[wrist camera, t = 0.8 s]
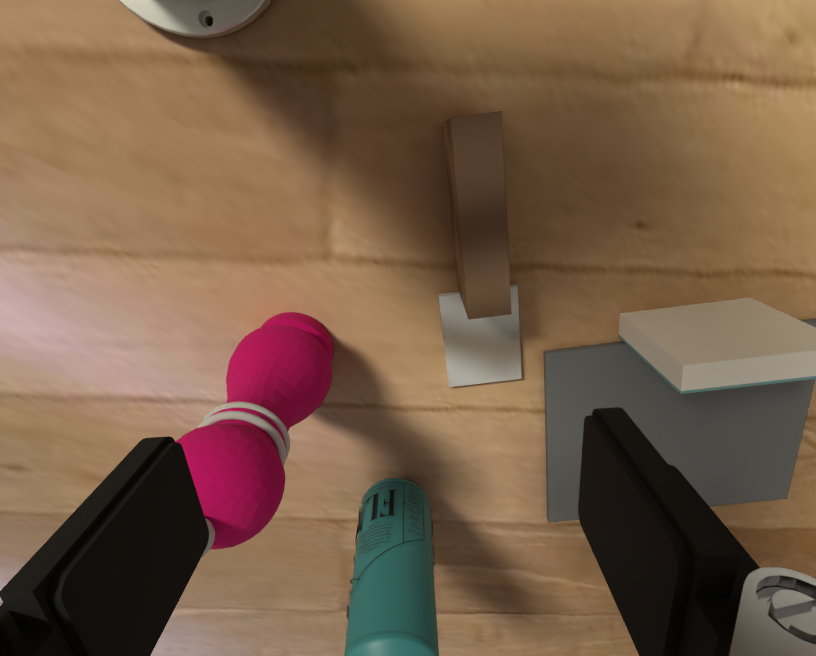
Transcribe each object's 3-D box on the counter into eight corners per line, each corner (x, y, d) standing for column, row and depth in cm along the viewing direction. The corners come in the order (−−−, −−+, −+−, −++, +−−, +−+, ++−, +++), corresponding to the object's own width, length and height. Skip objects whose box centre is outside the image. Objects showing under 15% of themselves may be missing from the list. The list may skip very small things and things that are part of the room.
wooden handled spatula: (419, 126, 31) (421, 122, 25) (508, 113, 30) (530, 106, 25) (448, 383, 38) (455, 424, 33) (520, 375, 38) (539, 415, 32)
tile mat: (543, 351, 37) (545, 353, 37) (823, 317, 36) (829, 320, 35) (547, 518, 44) (548, 522, 43) (782, 494, 43) (786, 498, 42)
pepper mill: (357, 343, 37) (307, 549, 18) (305, 401, 39) (211, 639, 20) (284, 287, 35) (146, 452, 16) (233, 351, 37) (59, 561, 19)
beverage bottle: (398, 452, 41) (391, 710, 22) (445, 495, 43) (474, 766, 24) (346, 490, 43) (300, 759, 24) (394, 530, 44) (384, 808, 26)
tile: (619, 313, 36) (683, 365, 28) (749, 297, 35) (855, 345, 27) (618, 336, 37) (680, 393, 28) (745, 320, 36) (847, 375, 28)
